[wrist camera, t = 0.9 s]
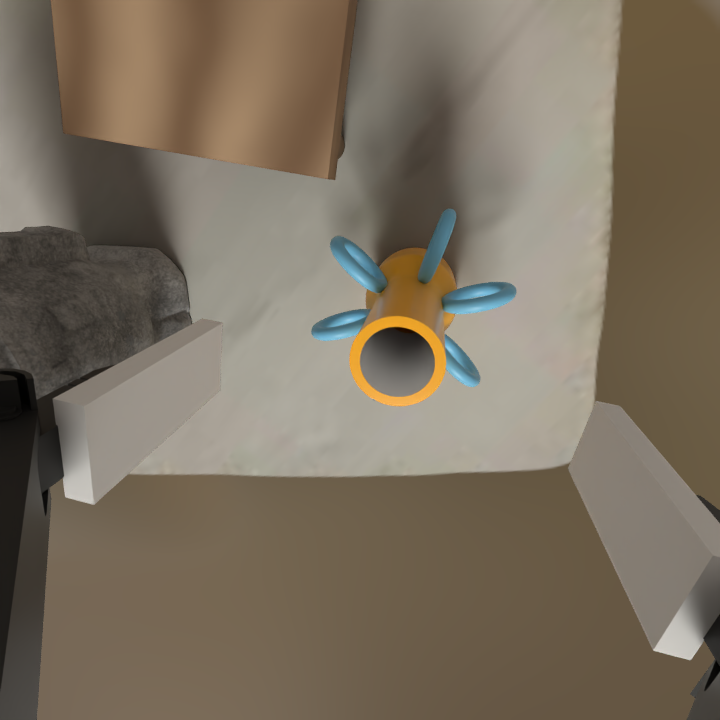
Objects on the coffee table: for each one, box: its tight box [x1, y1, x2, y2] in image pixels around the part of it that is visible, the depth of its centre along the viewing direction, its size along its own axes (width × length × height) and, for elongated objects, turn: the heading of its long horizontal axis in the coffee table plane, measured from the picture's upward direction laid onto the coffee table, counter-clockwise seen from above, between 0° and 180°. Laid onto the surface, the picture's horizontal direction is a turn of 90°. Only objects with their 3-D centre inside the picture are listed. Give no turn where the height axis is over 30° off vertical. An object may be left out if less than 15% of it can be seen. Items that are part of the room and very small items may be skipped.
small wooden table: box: [51, 0, 358, 180], centre depth 24 cm, size 15×15×8 cm
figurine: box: [0, 226, 192, 399], centre depth 25 cm, size 10×14×25 cm
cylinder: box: [311, 209, 516, 406], centre depth 25 cm, size 12×10×15 cm
